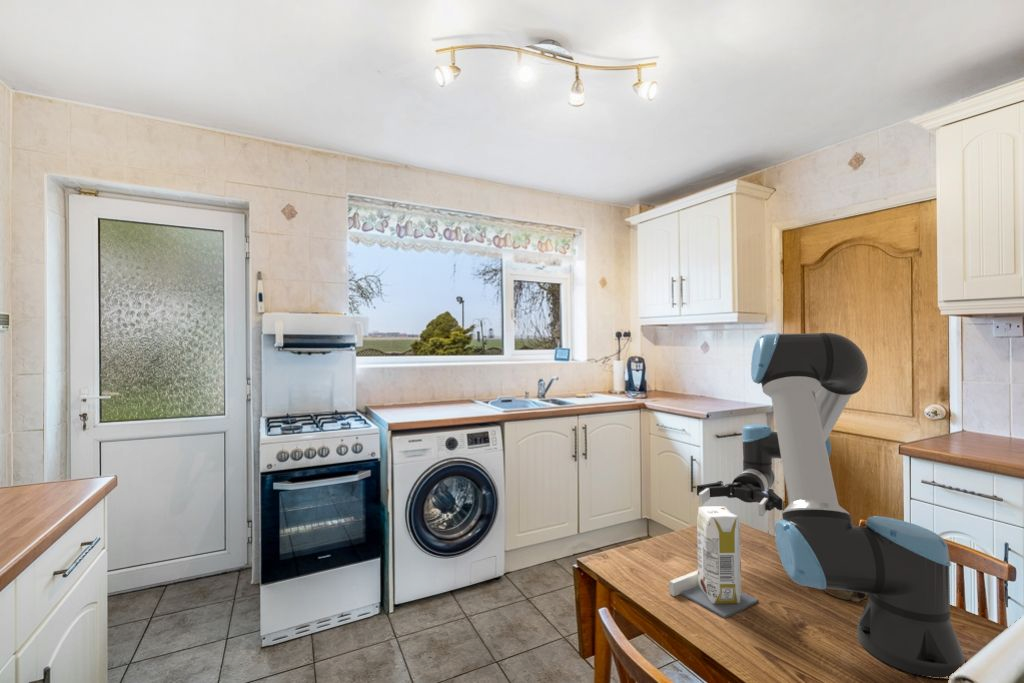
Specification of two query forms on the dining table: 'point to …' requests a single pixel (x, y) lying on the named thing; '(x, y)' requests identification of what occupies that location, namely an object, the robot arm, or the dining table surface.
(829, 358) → the robot arm
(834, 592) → the bread roll
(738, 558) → the juice carton
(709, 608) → the mat
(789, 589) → the dining table surface
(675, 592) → the fence
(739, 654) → the dining table surface
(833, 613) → the dining table surface
